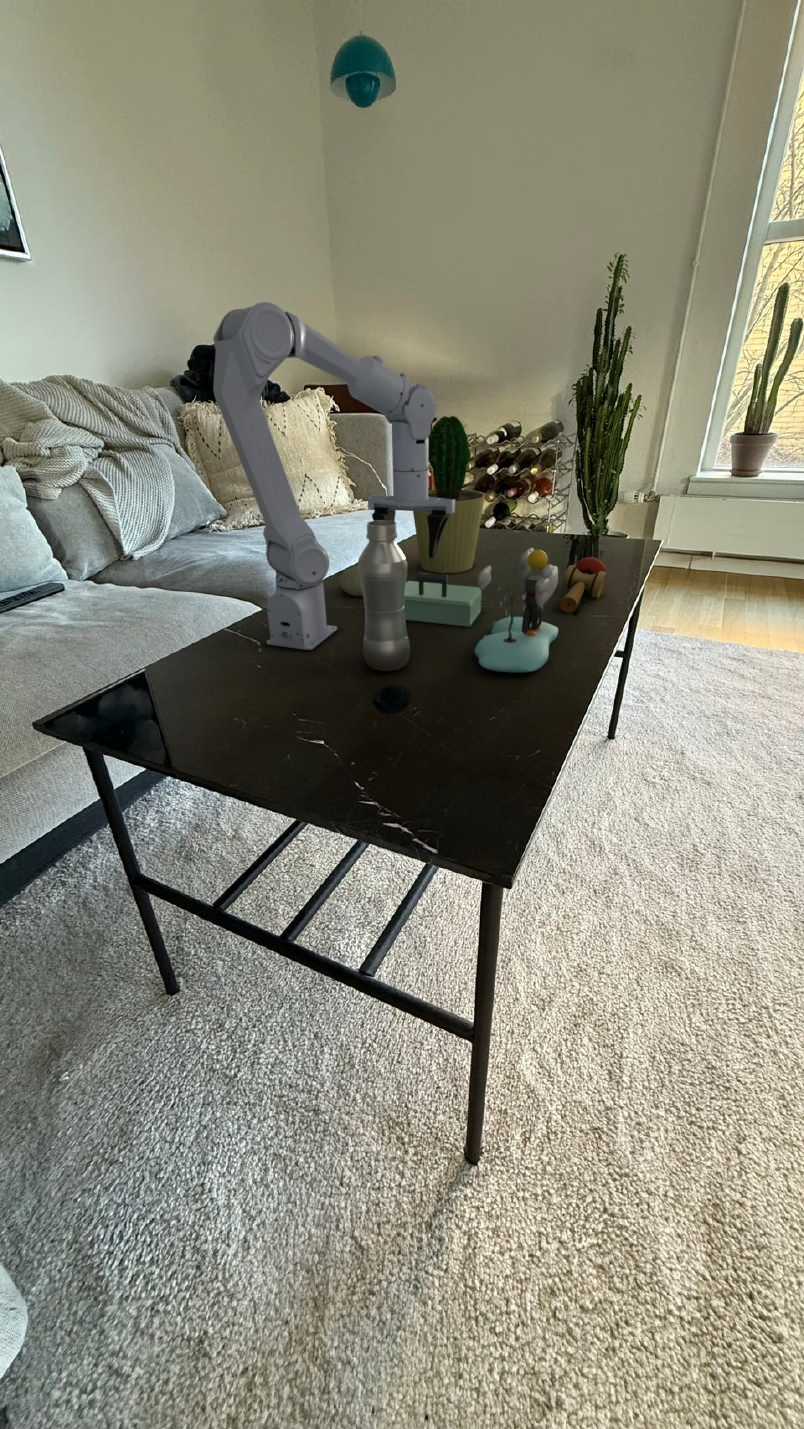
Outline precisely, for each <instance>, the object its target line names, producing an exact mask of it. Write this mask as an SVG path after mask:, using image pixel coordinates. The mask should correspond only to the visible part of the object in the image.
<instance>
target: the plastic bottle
mask: <svg viewBox="0 0 804 1429" xmlns="http://www.w3.org/2000/svg"><path fill="white" fill-rule="evenodd" d="M365 537H366V539H367V540H368V543H367V544H366V545H365V547H364V548H363V550H362V552H361V554H360V556H359V557H358V561H357V565H358V573H359V577H360V582H361V587H362V592H363V596H362V597H363V599H362V600H363V604H364V636H363V642H362V654H363V658H364V661H365V663H366V664H367V666H368V667H369V668H371V669H372V670H375V671H380V672H392V671H397V670H400V669H403V668H404V667H405V666H406V665H407V663H408V662H409V660H410V655H411V647H410V645H411V644H410V640H409V636H408V632H407V624H406V622H407V621H406V620H405V613H404V609H405V606H404V603H405V586H406V583H407V576H408V567H409V566H408V565H409V564H408V561H407V558H406V556H405V554H404V552H403V550H402V548H400V546H399V545H398V544H397V542H396V539H397V538H398V532H397V522H396V521H395V522H394V521H389V520H377V521H374V520H371V521H368V522H367V523H366V536H365Z"/></svg>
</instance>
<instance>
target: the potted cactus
mask: <svg viewBox="0 0 804 1429" xmlns="http://www.w3.org/2000/svg"><path fill="white" fill-rule="evenodd" d="M436 420H437V421H436V422H432V423H431V428H430V434H429V437H428V466H430V467H428V470H431V471H432V474H431V475H430V478H431V477H432V479H430V478H429V479H430V481H431V482H434V483H433V485H434V488H435V489H428V497H435V498H443V499H455V512H454V513H452V514H450V516H449V518H448V520H447V522H446V524H445V527H444V529H443V531H442V534H441V537H440V540H439V544H438V549H437V555H436V556H435V557H434V558H429V528H428V521H427V516H428V515H430V514H432V512H422V511H412V514H413V515H412V516H413V520H414V521H413V523H414V528H415V535H416V542H417V548H418V556H419V561H420V562H419V563H420V567H421V568H422V569H423V570H425V571H427V572H431V573H436V574H454V573H461V572H465V571H468V570H471V569H472V568H473V565H474V560H475V553H476V549H477V544H478V539H479V538H478V537H479V532H480V527H481V522H482V521H481V520H482V515H483V510H484V506H485V505H484V504H485V497H486V494H485V493H484V492H483V491H478V490H473V489H472V490H471V489H468V488H467V487H465V486H464V485H467V482H466V477H468V476H469V475H468V473H467V470H468V464H469V463H472V460H473V457H471V453H472V452H473V451H474V450H476V449H472V450H471V449H470V446H471V445H473V444H472V443H470V442H469V435H470V433H467V432H466V428H467V427H468V425H467V424H466V423H467V422H466V423H463V422H462V419H460V418H458V416H455V415H450V416H447V415H440V416H436ZM468 429H469V428H467V430H468ZM419 508H421V507H419Z"/></svg>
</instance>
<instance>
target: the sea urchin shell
mask: <svg viewBox="0 0 804 1429" xmlns="http://www.w3.org/2000/svg"><path fill="white" fill-rule="evenodd" d="M339 586H340V588H341V589H342V590H343V592H345V593H347V594H348V595H350V596H354V597H363V592H362V587H361V582H360V577H359V573H358V564H357V565H354V566H351V567H349V568H347V569H345V570H344V571H343V572H342V574H341V576H340V578H339Z"/></svg>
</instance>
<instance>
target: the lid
mask: <svg viewBox="0 0 804 1429" xmlns="http://www.w3.org/2000/svg"><path fill="white" fill-rule="evenodd" d="M449 578H450V577H449V575H448V574H442V573H430V572H429V573H427V572H418V573H417V576H416V579H417V580H416V581H415V580H408V581H406V586H405V600H413V601H423V602H433V603H443V604H453V605H462V606H470V605H471V604H472V603H473V601H474V600H475V599H476V598H477V596H478V595H479V594H480V593H481V594H482V590H480V589H479V586H467V585H456V584H449V580H450V579H449Z"/></svg>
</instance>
